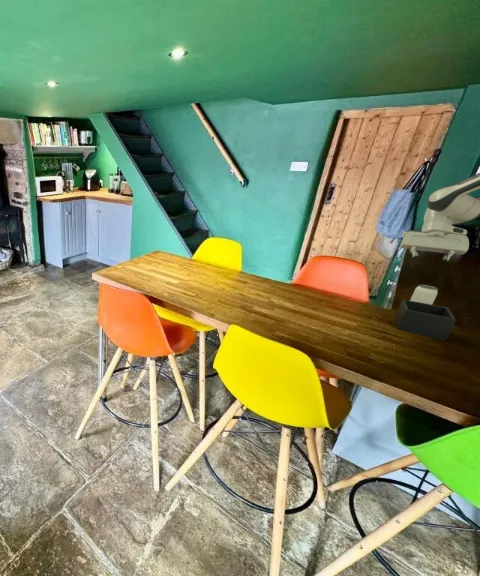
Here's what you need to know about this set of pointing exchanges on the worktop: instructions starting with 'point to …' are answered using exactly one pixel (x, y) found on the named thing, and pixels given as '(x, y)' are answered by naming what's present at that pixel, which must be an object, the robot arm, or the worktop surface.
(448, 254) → the robot arm
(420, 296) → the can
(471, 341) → the worktop surface
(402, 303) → the bin
